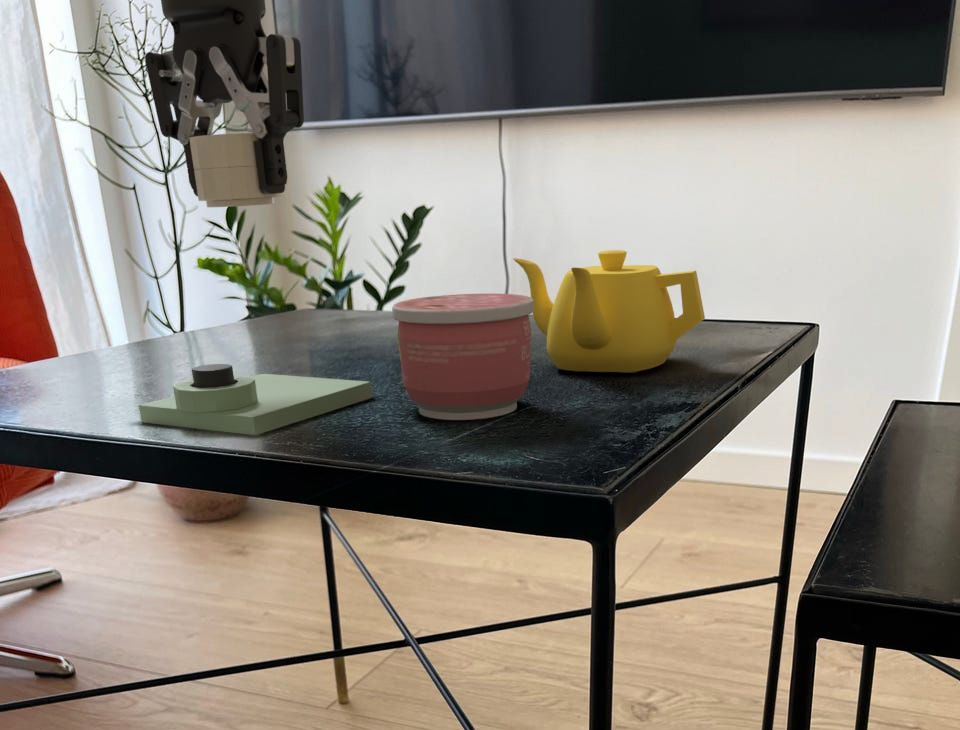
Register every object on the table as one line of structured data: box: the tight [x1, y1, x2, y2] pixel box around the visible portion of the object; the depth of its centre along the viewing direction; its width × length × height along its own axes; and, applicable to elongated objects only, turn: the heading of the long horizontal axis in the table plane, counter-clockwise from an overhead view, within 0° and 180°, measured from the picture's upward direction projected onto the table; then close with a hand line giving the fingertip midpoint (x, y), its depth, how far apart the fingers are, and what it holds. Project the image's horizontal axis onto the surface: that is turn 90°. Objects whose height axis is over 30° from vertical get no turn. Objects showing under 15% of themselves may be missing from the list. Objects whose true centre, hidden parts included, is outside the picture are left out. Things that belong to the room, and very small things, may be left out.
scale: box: [138, 373, 373, 436], centre depth 81 cm, size 14×12×3 cm
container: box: [391, 293, 534, 421], centre depth 77 cm, size 10×10×8 cm
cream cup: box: [189, 132, 282, 208], centre depth 80 cm, size 6×6×5 cm
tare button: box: [191, 363, 235, 388], centre depth 77 cm, size 3×3×2 cm
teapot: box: [512, 249, 706, 374], centre depth 91 cm, size 14×13×10 cm
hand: (239, 194), depth 81 cm, fingers closed on cream cup, 6 cm apart
